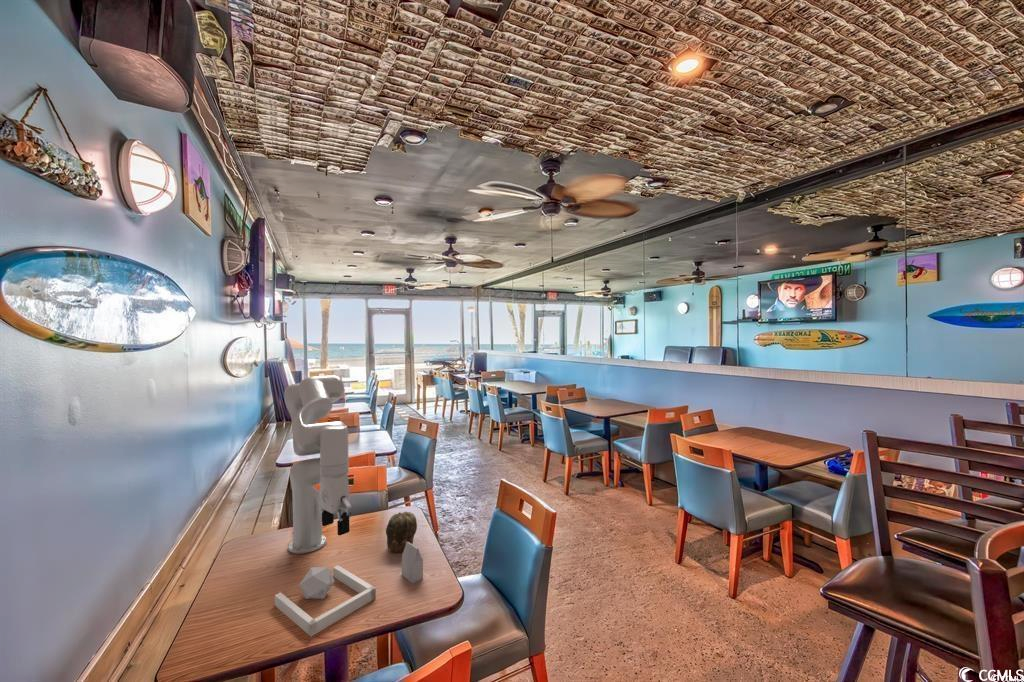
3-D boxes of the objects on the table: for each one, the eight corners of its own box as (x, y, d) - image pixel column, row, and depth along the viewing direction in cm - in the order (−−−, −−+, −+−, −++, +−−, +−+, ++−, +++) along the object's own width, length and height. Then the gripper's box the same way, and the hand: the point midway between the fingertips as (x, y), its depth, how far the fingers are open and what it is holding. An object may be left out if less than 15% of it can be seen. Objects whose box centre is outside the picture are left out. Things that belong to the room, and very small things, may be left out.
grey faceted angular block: (412, 583, 125) (412, 551, 125) (401, 574, 130) (401, 543, 130) (423, 578, 127) (422, 547, 127) (411, 570, 132) (411, 539, 132)
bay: (274, 605, 115) (274, 595, 115) (337, 574, 130) (337, 565, 130) (311, 636, 102) (310, 624, 102) (375, 598, 118) (375, 587, 118)
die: (311, 611, 113) (333, 578, 116) (288, 593, 114) (310, 560, 117) (323, 604, 121) (344, 572, 124) (301, 587, 122) (322, 556, 125)
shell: (422, 547, 147) (422, 514, 147) (393, 557, 140) (393, 523, 140) (409, 536, 155) (408, 505, 155) (381, 545, 148) (381, 513, 148)
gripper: (308, 467, 119) (309, 525, 119) (335, 478, 108) (336, 542, 107) (333, 461, 125) (334, 517, 124) (361, 471, 113) (362, 532, 113)
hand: (335, 529), depth 116 cm, fingers open, 9 cm apart
